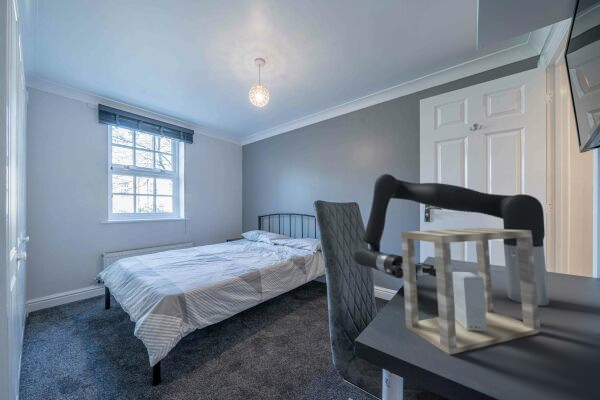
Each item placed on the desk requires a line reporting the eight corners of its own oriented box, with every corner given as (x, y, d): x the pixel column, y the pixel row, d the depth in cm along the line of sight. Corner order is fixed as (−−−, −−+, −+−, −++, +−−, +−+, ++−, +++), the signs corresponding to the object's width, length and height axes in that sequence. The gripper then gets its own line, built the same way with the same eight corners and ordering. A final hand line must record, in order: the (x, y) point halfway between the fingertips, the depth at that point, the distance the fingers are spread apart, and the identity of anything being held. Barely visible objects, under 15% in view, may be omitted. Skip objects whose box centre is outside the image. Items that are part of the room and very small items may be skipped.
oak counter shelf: (486, 312, 65) (479, 228, 67) (540, 332, 54) (531, 230, 55) (406, 327, 58) (401, 232, 59) (449, 354, 46) (441, 235, 48)
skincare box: (488, 332, 53) (484, 278, 54) (467, 330, 54) (463, 277, 54) (473, 320, 59) (469, 271, 60) (454, 319, 60) (451, 271, 60)
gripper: (374, 255, 82) (407, 264, 67) (407, 252, 86) (446, 260, 71) (375, 277, 82) (409, 291, 66) (408, 273, 86) (448, 285, 70)
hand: (428, 275), depth 68 cm, fingers open, 8 cm apart
